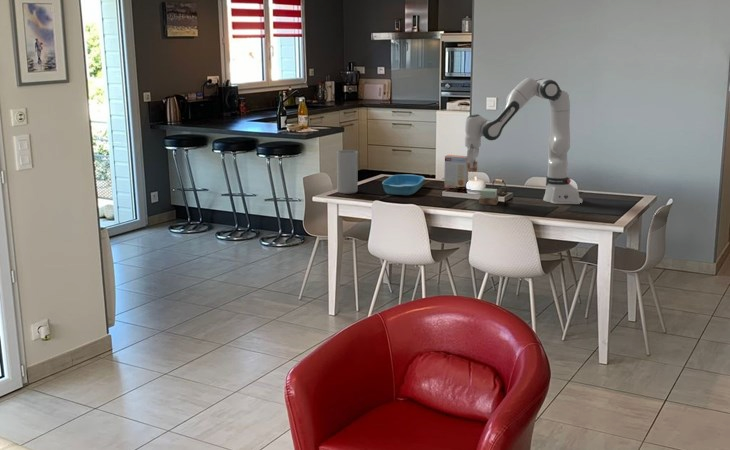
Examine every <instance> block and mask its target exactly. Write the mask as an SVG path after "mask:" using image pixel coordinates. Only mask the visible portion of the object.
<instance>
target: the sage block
mask: <svg viewBox="0 0 730 450" xmlns="http://www.w3.org/2000/svg"><path fill="white" fill-rule="evenodd" d="M480 196H481V198H493V199H495V198H496V196H498V189H497V188H486V187H484V188H482V189H481V191H480Z"/></svg>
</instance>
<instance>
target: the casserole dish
mask: <svg viewBox="0 0 730 450" xmlns="http://www.w3.org/2000/svg"><path fill="white" fill-rule="evenodd" d="M424 181H425V176H423V175H416V174H392V175H391V176H389V177H388V178H386V179H384V180H383V181H382V182H381V184H382V186H383V191H384V192H385V193H386V194H387V195H396V196H398V195H399V196H412V195H413V194H415V193H416V192H418V191H419V190H420V189H421V188H422V187H423V185H424Z"/></svg>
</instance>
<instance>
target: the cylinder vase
mask: <svg viewBox="0 0 730 450" xmlns="http://www.w3.org/2000/svg"><path fill="white" fill-rule="evenodd" d="M358 154H359V153H358V151H357V150H353V149H344V150H343V149H340V150H338V151H336V172H337V173H336V176H337V177H336V178H337V179H336V180H337V181H336V184H337V185H336V190H337V193H340V194H345V195H346V194H348V195H349V194H355V193H357V192H358V187H359V186H358V183H359V182H358V170H359V168H358V156H359V155H358Z"/></svg>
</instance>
